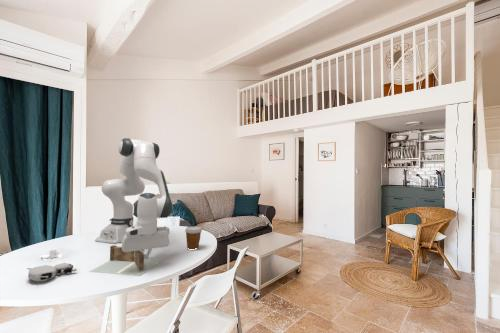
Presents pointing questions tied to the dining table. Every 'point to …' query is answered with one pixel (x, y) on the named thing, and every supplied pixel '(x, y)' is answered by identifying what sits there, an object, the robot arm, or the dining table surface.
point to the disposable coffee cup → (193, 236)
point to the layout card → (125, 267)
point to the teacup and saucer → (51, 255)
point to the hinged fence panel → (139, 259)
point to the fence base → (121, 254)
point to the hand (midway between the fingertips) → (146, 258)
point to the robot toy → (49, 271)
